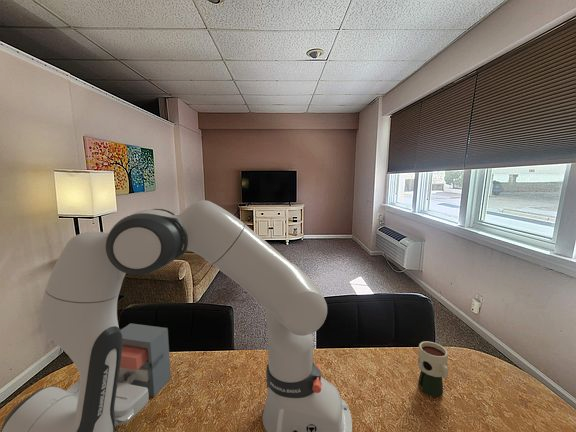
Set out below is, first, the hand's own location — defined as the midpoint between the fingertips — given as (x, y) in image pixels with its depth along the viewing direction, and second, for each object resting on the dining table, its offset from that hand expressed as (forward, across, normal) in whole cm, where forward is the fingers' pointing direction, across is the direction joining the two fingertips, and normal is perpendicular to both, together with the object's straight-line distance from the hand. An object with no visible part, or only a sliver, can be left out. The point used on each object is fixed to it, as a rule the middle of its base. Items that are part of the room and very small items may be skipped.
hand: (131, 374), depth 70 cm
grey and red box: (+4, 0, +6) cm, 8 cm away
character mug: (+18, -83, +7) cm, 85 cm away
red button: (-1, 0, -4) cm, 5 cm away
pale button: (+2, 0, +2) cm, 3 cm away
